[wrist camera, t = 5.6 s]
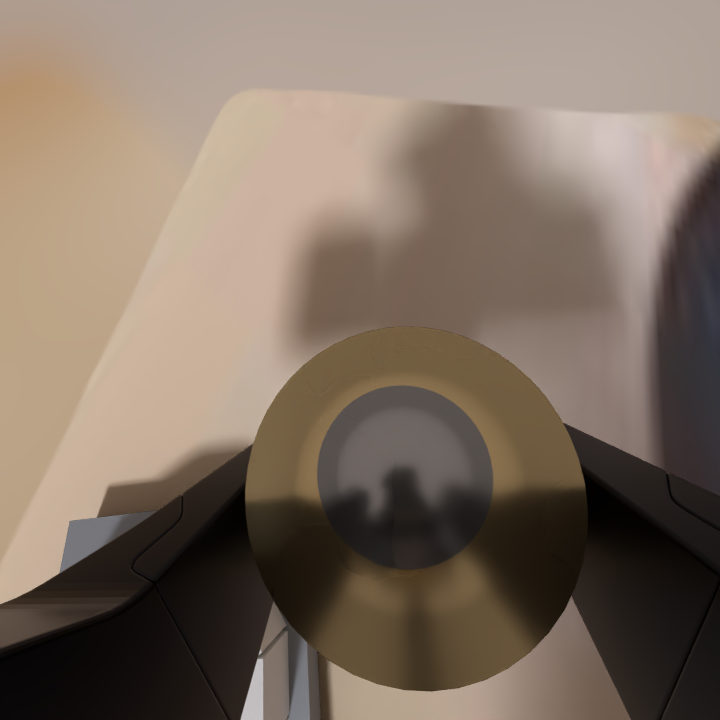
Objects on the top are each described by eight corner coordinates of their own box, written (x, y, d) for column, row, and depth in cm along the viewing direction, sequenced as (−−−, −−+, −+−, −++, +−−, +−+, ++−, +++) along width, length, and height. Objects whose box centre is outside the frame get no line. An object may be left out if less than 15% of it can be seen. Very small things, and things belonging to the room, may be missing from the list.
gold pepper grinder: (525, 492, 14) (917, 489, 3) (408, 621, 13) (401, 1278, 2) (406, 380, 16) (402, 167, 6) (300, 481, 15) (44, 454, 5)
